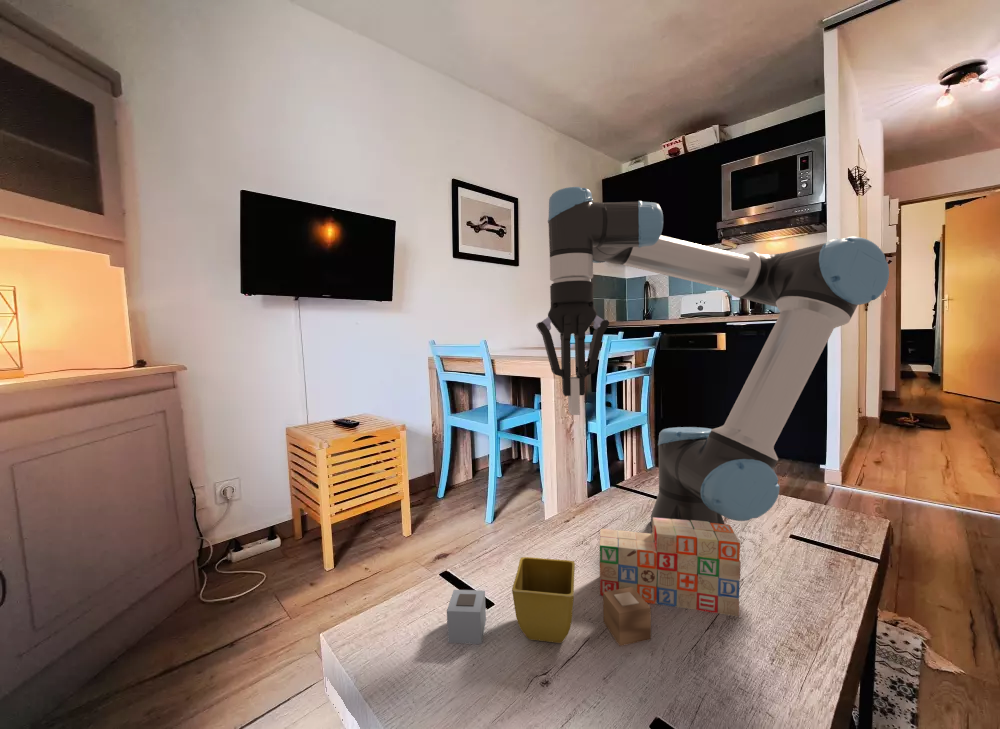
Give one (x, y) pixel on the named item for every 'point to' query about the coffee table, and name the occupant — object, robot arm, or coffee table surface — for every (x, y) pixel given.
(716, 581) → the stack of blocks
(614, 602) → the walnut cube marked
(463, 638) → the grey cube marked
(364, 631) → the coffee table surface
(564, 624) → the flower pot
